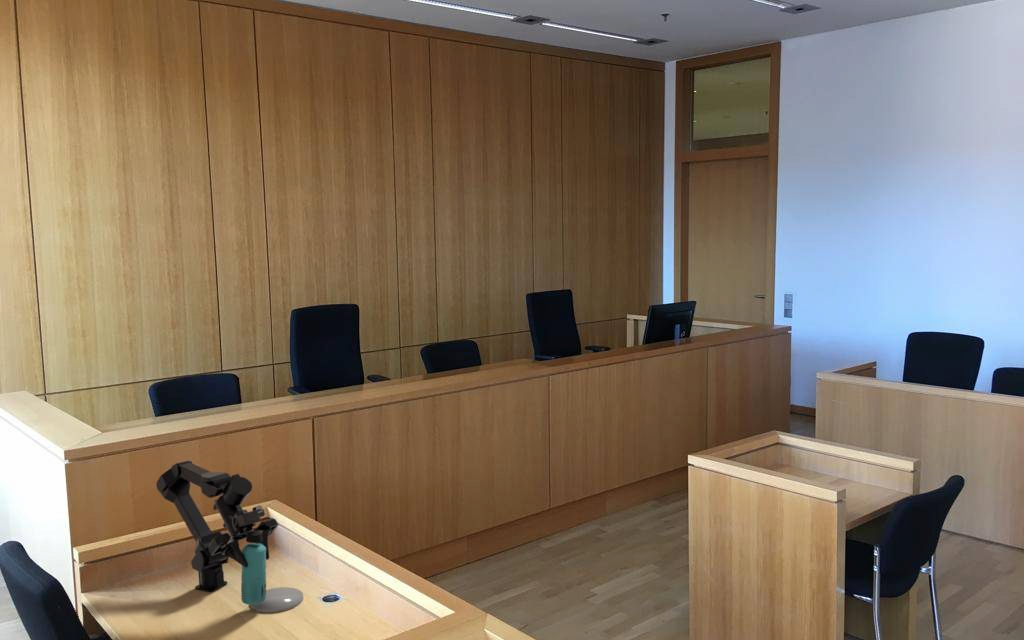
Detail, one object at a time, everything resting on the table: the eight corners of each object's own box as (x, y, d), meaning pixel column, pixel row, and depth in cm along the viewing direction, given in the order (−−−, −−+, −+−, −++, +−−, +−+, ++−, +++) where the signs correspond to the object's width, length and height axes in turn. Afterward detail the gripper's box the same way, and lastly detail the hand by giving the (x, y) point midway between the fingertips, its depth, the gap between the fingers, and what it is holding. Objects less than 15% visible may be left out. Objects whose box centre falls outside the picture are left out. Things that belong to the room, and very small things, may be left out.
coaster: (239, 607, 226) (239, 604, 225) (274, 586, 238) (274, 583, 238) (280, 616, 220) (280, 613, 220) (313, 594, 232) (313, 592, 232)
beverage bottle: (263, 610, 221) (265, 536, 219) (238, 610, 220) (239, 536, 219) (267, 600, 227) (269, 528, 226) (243, 600, 226) (244, 528, 225)
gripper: (211, 507, 216) (237, 559, 211) (273, 489, 231) (298, 537, 225) (197, 529, 222) (222, 580, 217) (258, 510, 236) (282, 557, 231)
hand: (257, 562), depth 222 cm, fingers closed on beverage bottle, 6 cm apart
